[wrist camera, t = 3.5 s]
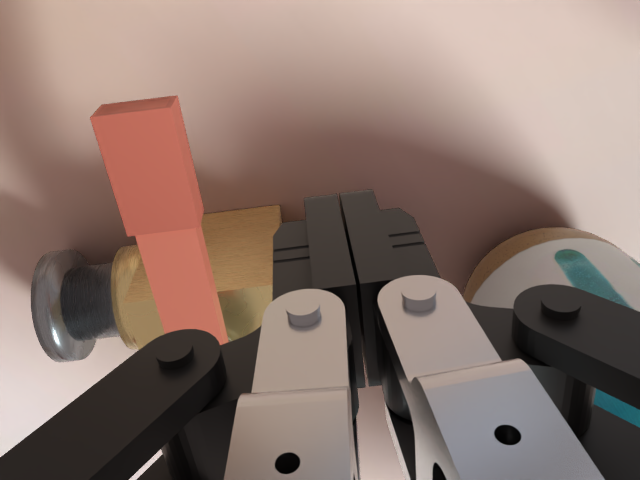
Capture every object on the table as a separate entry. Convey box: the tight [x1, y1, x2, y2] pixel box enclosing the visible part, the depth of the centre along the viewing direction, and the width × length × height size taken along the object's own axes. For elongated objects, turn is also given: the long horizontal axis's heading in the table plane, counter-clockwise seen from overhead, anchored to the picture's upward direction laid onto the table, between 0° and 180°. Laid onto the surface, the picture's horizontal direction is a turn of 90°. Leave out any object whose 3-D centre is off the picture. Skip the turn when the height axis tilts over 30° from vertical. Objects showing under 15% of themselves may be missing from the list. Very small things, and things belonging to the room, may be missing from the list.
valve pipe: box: [31, 205, 282, 362], centre depth 30 cm, size 18×6×9 cm, turn 96°
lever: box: [90, 96, 231, 345], centre depth 23 cm, size 14×4×2 cm, turn 6°
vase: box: [463, 227, 640, 427], centre depth 28 cm, size 11×11×19 cm
